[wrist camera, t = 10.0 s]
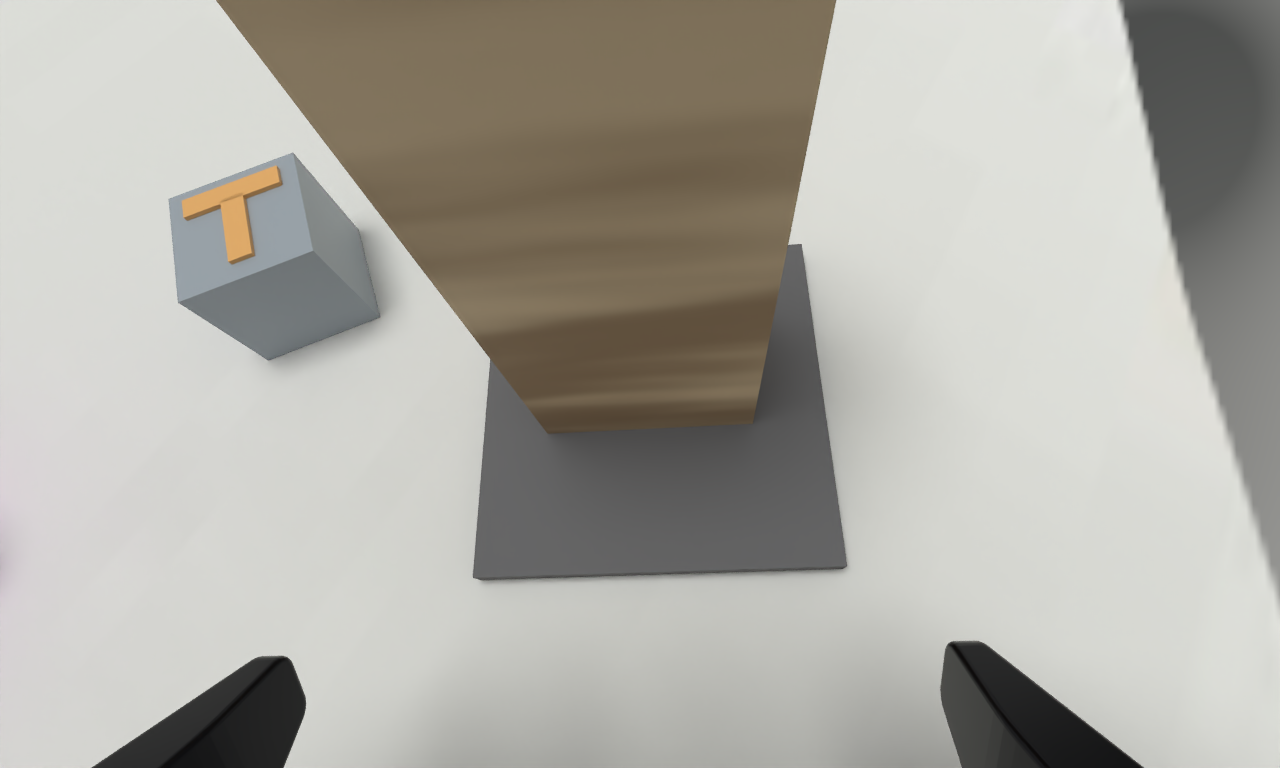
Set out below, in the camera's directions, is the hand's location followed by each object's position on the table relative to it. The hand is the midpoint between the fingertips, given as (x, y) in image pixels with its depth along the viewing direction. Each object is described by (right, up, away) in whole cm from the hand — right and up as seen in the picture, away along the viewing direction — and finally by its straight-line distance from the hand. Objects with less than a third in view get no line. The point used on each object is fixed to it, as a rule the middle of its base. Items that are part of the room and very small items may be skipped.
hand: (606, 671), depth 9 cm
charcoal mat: (+1, +3, +11) cm, 11 cm away
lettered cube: (-11, +7, +14) cm, 19 cm away
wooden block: (+1, +4, +10) cm, 11 cm away
